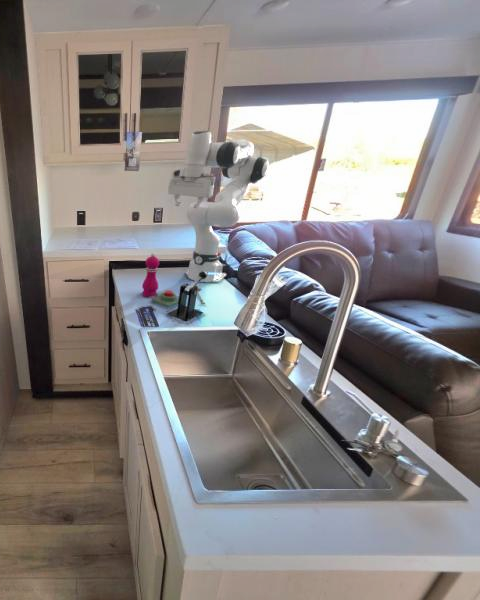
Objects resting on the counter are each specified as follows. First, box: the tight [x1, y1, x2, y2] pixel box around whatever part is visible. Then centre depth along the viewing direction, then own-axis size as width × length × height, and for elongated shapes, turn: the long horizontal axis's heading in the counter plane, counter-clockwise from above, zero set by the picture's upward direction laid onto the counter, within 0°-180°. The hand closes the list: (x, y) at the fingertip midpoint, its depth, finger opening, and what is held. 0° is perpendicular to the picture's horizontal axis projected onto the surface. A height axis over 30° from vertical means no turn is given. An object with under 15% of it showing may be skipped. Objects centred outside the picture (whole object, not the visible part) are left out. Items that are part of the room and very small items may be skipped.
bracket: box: [166, 283, 204, 323], centre depth 125 cm, size 12×9×13 cm
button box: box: [151, 291, 179, 309], centre depth 138 cm, size 11×9×4 cm
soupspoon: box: [189, 284, 206, 305], centre depth 145 cm, size 22×3×7 cm
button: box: [164, 289, 174, 297], centre depth 137 cm, size 4×4×2 cm
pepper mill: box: [141, 253, 160, 298], centre depth 143 cm, size 7×7×20 cm
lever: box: [184, 271, 207, 296], centre depth 125 cm, size 13×3×3 cm, turn 129°
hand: (186, 207), depth 137 cm, fingers open, 8 cm apart
